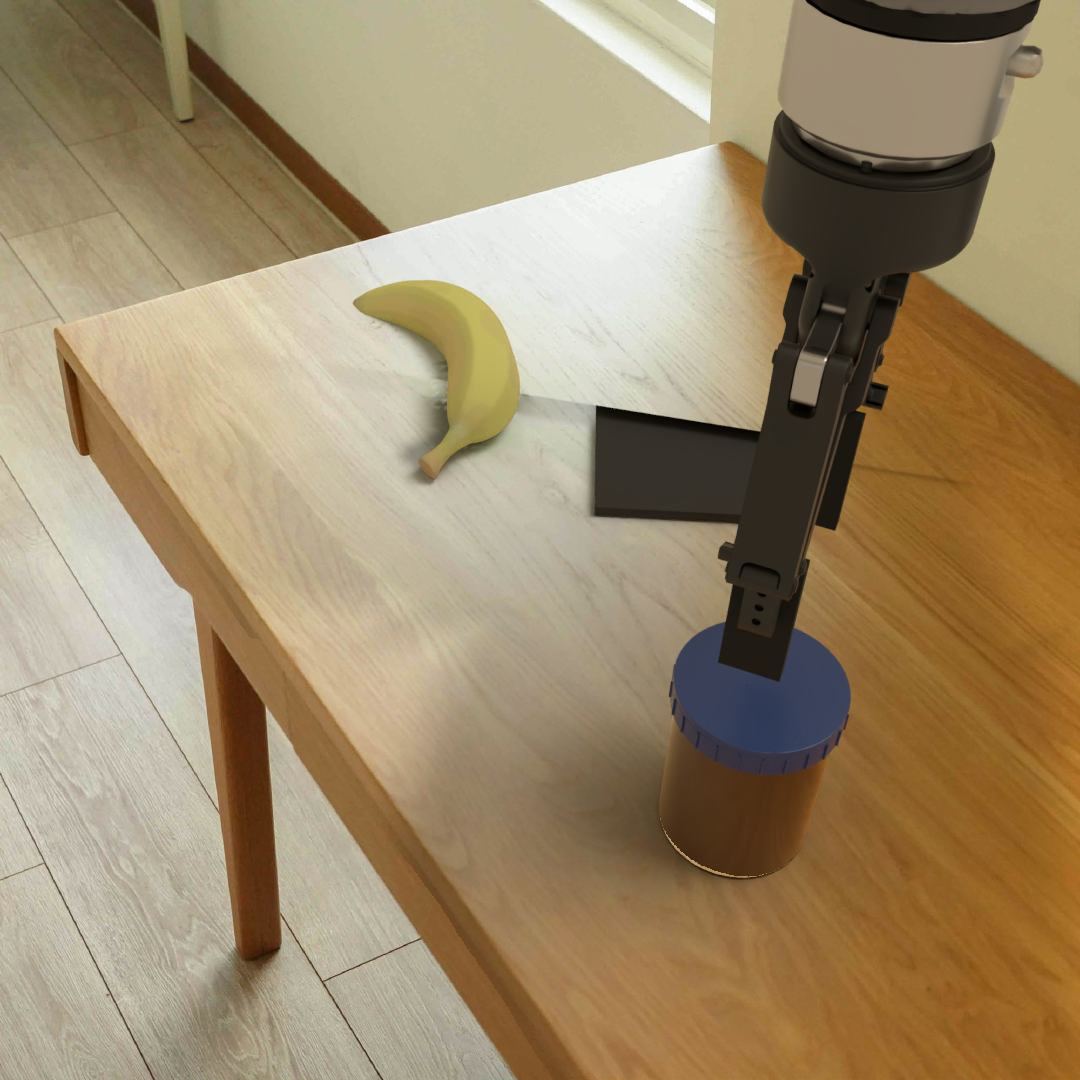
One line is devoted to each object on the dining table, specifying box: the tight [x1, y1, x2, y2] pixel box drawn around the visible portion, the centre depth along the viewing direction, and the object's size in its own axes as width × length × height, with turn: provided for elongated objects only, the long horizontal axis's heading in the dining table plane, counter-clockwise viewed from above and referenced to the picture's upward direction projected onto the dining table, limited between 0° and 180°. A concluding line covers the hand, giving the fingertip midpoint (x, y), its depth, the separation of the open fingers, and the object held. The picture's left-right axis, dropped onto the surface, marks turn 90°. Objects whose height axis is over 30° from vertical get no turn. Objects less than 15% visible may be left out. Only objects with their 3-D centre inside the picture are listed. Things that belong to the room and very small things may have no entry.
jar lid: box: [668, 621, 852, 775], centre depth 66 cm, size 9×9×2 cm
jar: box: [658, 715, 831, 877], centre depth 69 cm, size 8×8×10 cm
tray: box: [593, 404, 761, 524], centre depth 95 cm, size 14×14×1 cm
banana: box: [352, 279, 521, 480], centre depth 98 cm, size 14×6×20 cm
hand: (781, 587), depth 61 cm, fingers open, 10 cm apart
